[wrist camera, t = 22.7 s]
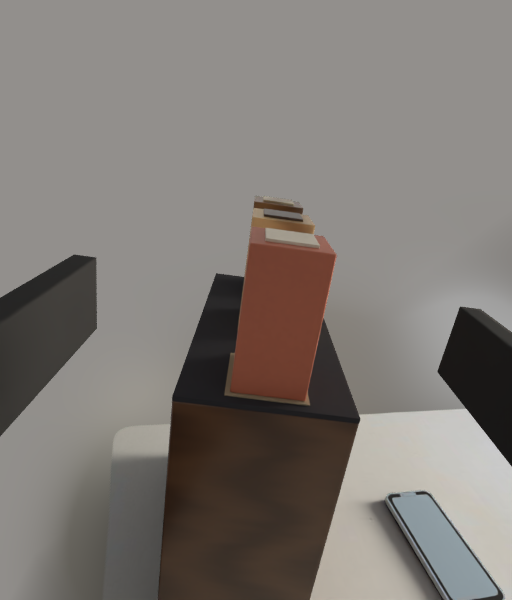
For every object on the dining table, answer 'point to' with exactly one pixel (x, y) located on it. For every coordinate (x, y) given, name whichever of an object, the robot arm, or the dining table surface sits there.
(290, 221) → the wooden pillar block
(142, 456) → the dining table surface
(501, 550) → the dining table surface
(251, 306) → the orange block
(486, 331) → the robot arm
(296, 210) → the wooden block
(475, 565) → the smartphone
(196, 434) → the stand
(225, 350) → the black mat
